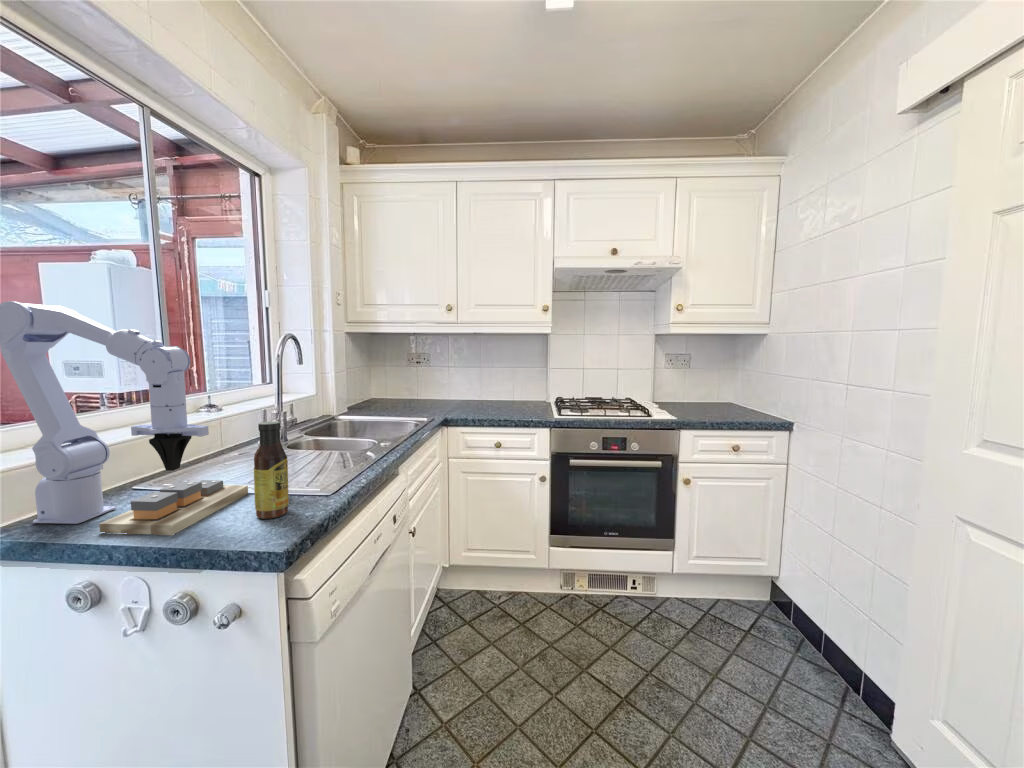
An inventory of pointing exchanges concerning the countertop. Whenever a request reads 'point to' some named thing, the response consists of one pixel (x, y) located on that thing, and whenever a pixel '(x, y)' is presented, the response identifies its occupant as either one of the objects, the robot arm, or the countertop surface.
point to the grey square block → (154, 505)
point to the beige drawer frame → (175, 514)
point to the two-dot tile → (185, 492)
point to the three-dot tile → (211, 487)
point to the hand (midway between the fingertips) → (172, 469)
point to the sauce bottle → (270, 473)
